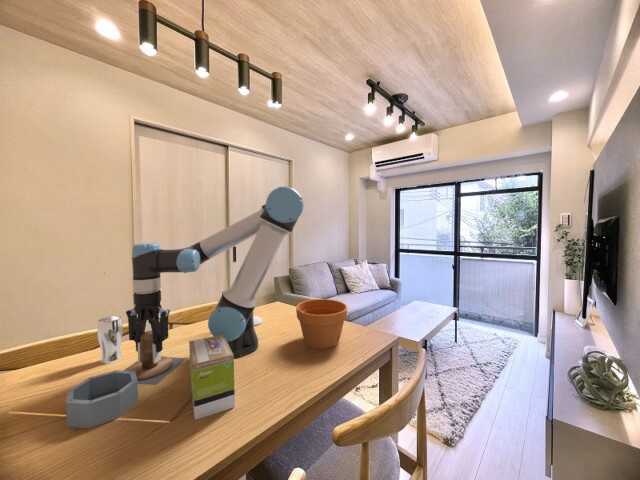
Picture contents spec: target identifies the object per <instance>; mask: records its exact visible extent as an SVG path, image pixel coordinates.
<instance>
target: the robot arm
mask: <svg viewBox="0 0 640 480" xmlns="http://www.w3.org/2000/svg"><path fill="white" fill-rule="evenodd" d="M303 210H304V200H303V197H302V195H301V194H300V193H299V192H298V191H297V190H296V189H295V188H293V187H290V186H279V187H276V188H274V189H273V190H271V191H270V193H269V194H268V195H267V197H266V201H265V203H264V204H262V205H261V206H260V209H259V210H257V211H255V212H254V213H252V214H250V215H248V216H246V217H244V218H242V219H240V220H238V221H237V222H234V223H232V224H231V225H228V226H227V227H225V228H223V229H221V230H219V231H217V232H215V233H213V234H211V235H210V236H208V237H206V238H203V239H201V240H199V241H198V242H196V243H194V244H192V245H191V246H188V247H183V248H177V249H161V245H160V244H159V243H157V242H155V243H154V242H153V243H152V242H151V243H150V242H149V243H148V242H147V243H136V244H134V245H133V246H132V250H131V251H132V252H131V261H132V292H134V293H133V294H132V295H133V305H134V308H131V309H128V310H126V312H125V315H126V317H127V321H128V322H127V323H128V324H127V325H128V340H129V341H131V342H132V341H133V342H134V343H135V351H136V352H137V361H138V363H141V362H142V359H141V334H142V333H144V332H146V327H147V326H146V325H147V321H148V324H150V327H151V328H150V329H151V331H152V333H153V337H154V341H155V342H154V343H153V344H152V346H153V363H157V362H158V361H159V360H161V352H162V351H163V342H164V341H166V340H167V339H169V316H170V314H171V313H170V312H171V310H170V309H165V308H162V304H161V302H162V291H161V290H160V289H161V288H162V285H161V273H163V274H164V273H184V274H187V273H194V272H195V273H196V272H197V271H198V270H199V268H200V266H201V265H202V264H204V263H205V262H207V261H209V260H210V259H212V258H214V257H216V256H218V255H220V254H222V253H224V252H226V251H228V250H230V249H231V248H234V247H235V246H238V245H240V244H241V243H243V242H245V241H247V240H248V239H250V238H252V237H254V236H255V237H254V239H253V241H252V244H251V246H250V247H249V250H248V251H247V253H246V256H245V258H244V259H243V262H242V264H241V265H240V268H239V270H238V272H237V274H236V276H235V278H234V280H233V282H232V285H231V287H230V288H229V289H226V290H225V289H224V290H223V291H222V292H221V296H220V299H219V300H218V302H217V305H216V306H215V308H214V309H213V311H212V312H210V314H209V317H208V321H207V328H208V329H209V333H210V334H211V335H212V336H217V335H222V334H224V336H225V338H226V341H227V343H228V345H229V347H230V349H231V351H232V353H233V356H234V358H237V357H243V356H246V355H250V354H252V353H253V352H255V351H257V349H259V338H258V335H257V333H256V329H255V326H254V323H253V316H254V310H255V308H256V306H257V303H256V301H255V298H256V296H257V293H258V292H259V289H260V288H261V285H262V283H263V281H264V280H265V277H266V276H267V273H268V271H269V270H270V268H271V265H272V262H273V261H274V260H275V256H276V255H277V252H278V250H279V248H280V246H281V244H282V243H283V240H284V239H285V236H287V235H290V234H292V232H293V230H294V228H295V226H296V224H297V222H298V219H299V217H301V215H302V213H303Z"/></svg>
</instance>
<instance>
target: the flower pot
mask: <svg viewBox="0 0 640 480" xmlns="http://www.w3.org/2000/svg"><path fill="white" fill-rule="evenodd" d="M295 307H296V308H295V310H296V318H297V320H298V322H299V324H300V327H301V328H300V329H301V334H302V337H303V341H304V342H305V344H306V345H308V346H309V347H311V348H314V349H329V348H332V347H335V346H337V345H338V344H339V342H340V339H341V335H342V331H343V326H344V324H345V320H347V317H348V316H347V315H348V306H347V304H346V303H344V302H343V301H340V300H336V299H328V298H316V299H315V298H314V299H307V300H304V301H301V302H299V303H298V304H297V305H296V306H295Z"/></svg>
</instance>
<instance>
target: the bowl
mask: <svg viewBox="0 0 640 480" xmlns="http://www.w3.org/2000/svg"><path fill="white" fill-rule="evenodd" d="M138 401H139V384H138V380H137V377H136V373H135V371H123V370H112V371H108V372H105V373H102V374H98V375H94V376H90V377H88V378H87V379H84V380H83V381H81V382H80V383H78V384H77V385H75V386H73V387H72V388H70V389H69V390H67V392H66V400H65V411H66V412H65V413H66V428H77V429H79V428H80V429H92V428H95V427H98V426H101V425H103V424H105V423H108V422H112V421H115V420H116V419H120V416H121V417H122V415H124V414H125V412H127V410H129V409H130V408H131V407H133V406H134V405H135V404H136V403H137V402H138Z"/></svg>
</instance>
